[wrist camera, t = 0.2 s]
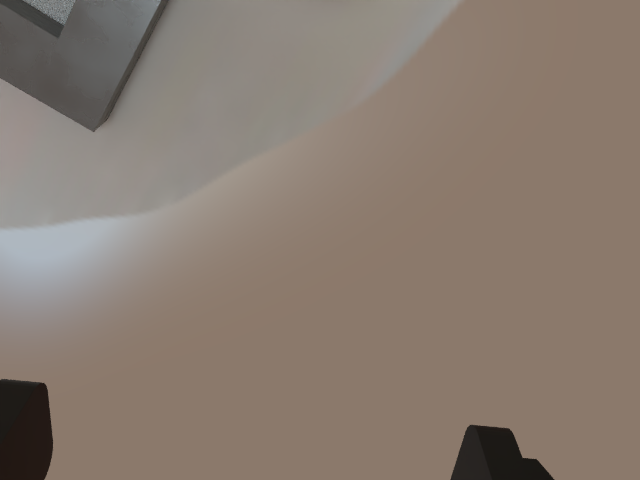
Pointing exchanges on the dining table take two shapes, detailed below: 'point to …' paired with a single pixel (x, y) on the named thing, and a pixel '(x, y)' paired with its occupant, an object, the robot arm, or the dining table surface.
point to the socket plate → (76, 53)
